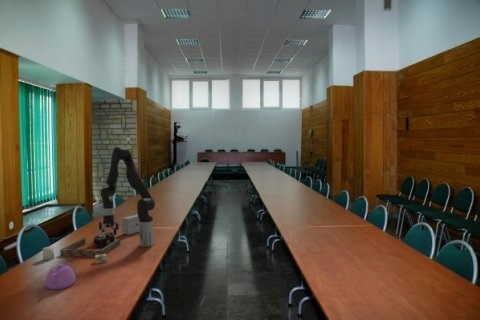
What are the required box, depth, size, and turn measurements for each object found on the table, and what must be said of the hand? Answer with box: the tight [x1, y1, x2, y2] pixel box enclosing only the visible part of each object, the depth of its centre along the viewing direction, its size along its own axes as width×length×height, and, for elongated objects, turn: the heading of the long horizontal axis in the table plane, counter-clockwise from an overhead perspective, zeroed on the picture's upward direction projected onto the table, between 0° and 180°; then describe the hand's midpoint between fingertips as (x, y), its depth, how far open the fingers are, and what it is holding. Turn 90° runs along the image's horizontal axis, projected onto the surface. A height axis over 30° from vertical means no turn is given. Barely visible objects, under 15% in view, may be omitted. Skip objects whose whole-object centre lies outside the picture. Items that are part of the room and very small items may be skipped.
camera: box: [93, 231, 115, 250], centre depth 238 cm, size 16×10×10 cm, turn 164°
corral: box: [60, 237, 122, 258], centre depth 229 cm, size 28×26×4 cm
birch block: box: [94, 254, 107, 264], centre depth 207 cm, size 6×4×4 cm, turn 112°
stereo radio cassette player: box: [121, 210, 139, 236], centre depth 274 cm, size 21×8×20 cm, turn 149°
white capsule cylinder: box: [42, 246, 55, 262], centre depth 212 cm, size 6×6×7 cm
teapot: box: [44, 262, 77, 291], centre depth 174 cm, size 14×20×11 cm
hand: (109, 235), depth 253 cm, fingers open, 8 cm apart
